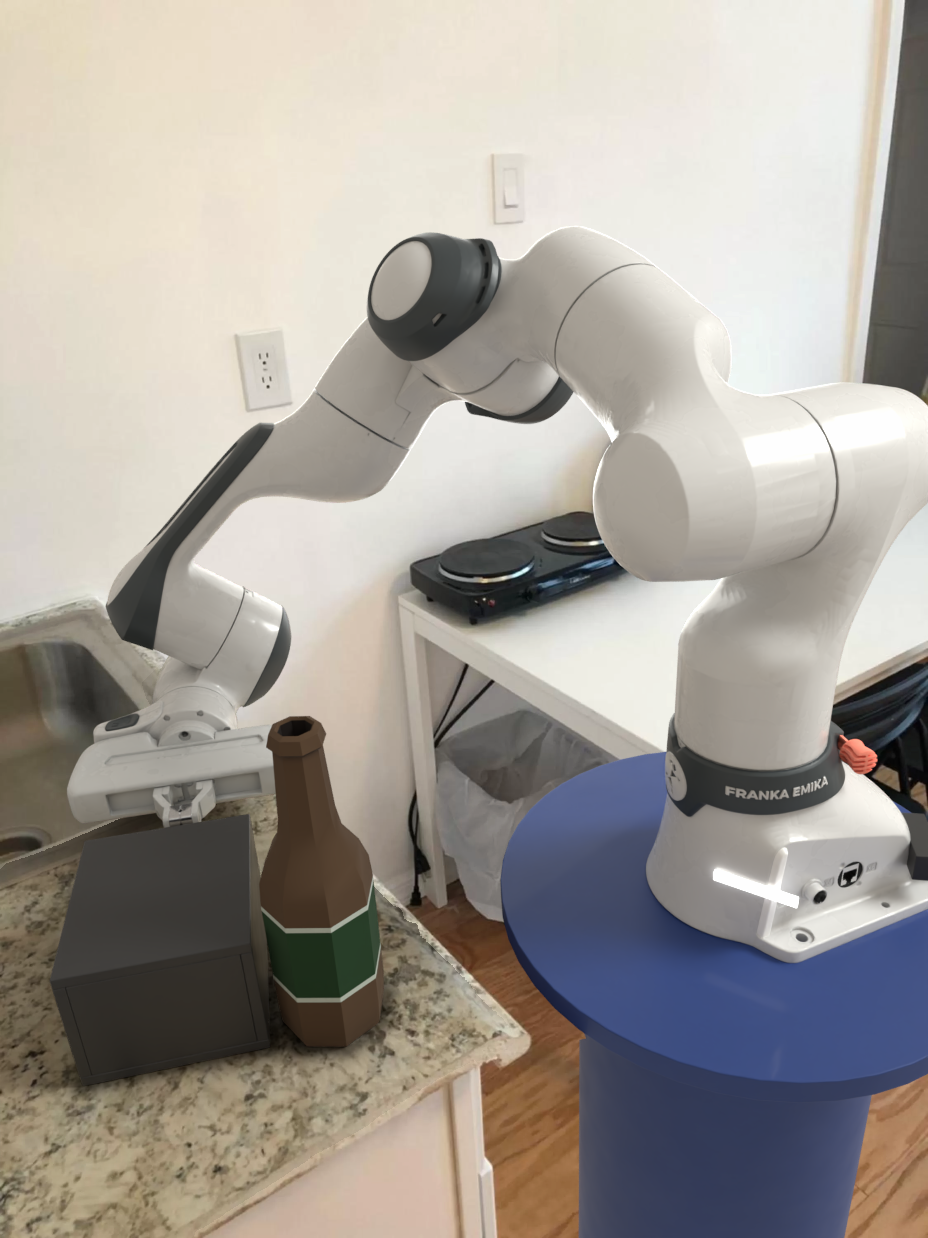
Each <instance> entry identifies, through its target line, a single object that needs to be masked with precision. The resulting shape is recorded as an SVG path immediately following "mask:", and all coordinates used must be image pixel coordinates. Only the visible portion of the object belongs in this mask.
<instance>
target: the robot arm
mask: <svg viewBox="0 0 928 1238" xmlns="http://www.w3.org/2000/svg"><path fill="white" fill-rule="evenodd" d="M367 292H368V293H367V299H366V317H365V318H364V319H363V320H362V322H360V324H359V325H358V326H357V327H356V328H355V329H354V330H353V332H352V333H351V334H350V336H349V337H348V338H347V339H346V340H345V342H344V343H343V344H342V345H341V347H340V348H339V350H338V351H337V352H336V354H335V355H334V356H333V358H332V360H331V361H330V362H329V363H328V365H327V366H326V368H325V369H324V372H323V373H322V374H321V376H320V377H319V378H318V379H319V380H318V381H317V382H316V384H315V386H314V388H313V389H312V390H311V393H310V394H309V396H308V397H307V398H306V400H304V402H303V403H302V404H301V405H300V406H299V407H298V408H297V409H296V410H294V411H293V412H292V413H290V414H289V415H287V416H286V417H284V418H282V419H281V420H278V421H276V422H258V423H256V424H255V425H253V426H252V427H250V428H249V429H248V430H246V432H244V433H243V434H242V435H241V436H240V437H238V439H237V440H236V441H235V442H234V443H233V444H232V445H231V446H230V447H229V449H228V450H226V452H225V453H224V454H223V455H222V457H221V458H219V460H218V461H217V462H216V463H215V464H214V466H213V467H212V468H211V469H210V470H209V471H208V473H206V475H205V476H204V477H203V479H202V480H201V481H200V482H199V483H198V484H197V486H195V488H194V489H193V490H192V491H191V493H190V494H189V495H188V496H187V498H186V499H185V500H184V501H183V503H181V505H180V506H178V508H177V510H176V511H175V512H174V513H173V514H172V515H171V517H170V518H169V519H168V520H167V521H166V522H165V524H164V525H163V526H162V528H161V529H160V530H159V531H158V532H157V533H156V535H155V536H153V538H152V539H151V540H150V541H149V542H148V543H147V544H146V545H145V546H144V547H143V549H141V550H140V551H139V552H138V553H137V554H135V555H134V556H133V557H132V558H131V559H130V560H129V561H128V562H126V564H125V565H124V566H123V567H122V568H121V570H120V571H119V572H118V573H117V575H116V577H115V578H114V580H113V582H112V584H111V586H110V589H109V592H108V594H107V600H106V603H105V610H106V613H107V616H108V618H109V621H110V622H111V624H112V626H113V628H114V630H115V632H116V633H117V635H118V637H119V638H120V640H121V641H124V642H126V643H129V644H133V645H136V646H139V647H141V648H144V649H147V650H150V651H157V652H159V653H161V654H163V655H166V656H167V657H166V659H165V660H164V662H163V664H162V667H161V669H160V671H159V673H158V676H157V678H156V681H155V684H154V688H153V693H152V697H151V704H149V705H148V706H146V707H143V708H142V709H139V710H137V711H135V712H132V713H130V714H126V715H124V716H120V717H118V718H115V719H110V720H107V721H104V722H101V723H99V724H97V725H96V726H95V727H94V729H93V732H92V737H93V743H92V744H91V745H90V746H88V747H87V748H85V749H84V750H83V752H82V753H81V755H80V756H79V758H78V760H77V761H76V763H75V766H74V768H73V770H72V772H71V774H70V778H69V780H68V784H67V787H66V796H67V800H68V805H69V808H70V811H71V814H72V817H73V819H75V820H76V821H77V822H78V823H80V824H82V825H88V824H92V823H100V822H106V821H113V820H119V819H125V818H131V817H132V818H133V817H138V816H145V815H152V814H156V816H157V817H158V818H159V819H160V820H161V821H162V826H163V828H166V827H173V826H179V825H185V824H191V823H197V822H202V819H204V818H205V817H206V816H207V815H208V814H209V813H210V812H211V811H212V810H214V809H215V807H216V804H223V803H229V802H235V801H241V800H247V799H255V798H261V797H267V796H274V795H275V796H276V792H275V780H274V768H273V756H272V751H270V750H269V749H268V748H266V745H267V738H268V734H269V731H270V729H271V727H272V725H273V724H274V723H272V724H261V725H254V726H246V727H240V728H238V727H239V726H238V725H239V722H238V715H237V713H238V711H239V709H240V708H241V707H242V708H245V707H248V706H249V707H250V705H253V704H254V703H255V702H257V701H258V700H260V699H262V698H264V697H265V696H266V694H267V693H268V692H269V691H270V690H271V689H272V688H273V687H274V685H275V684H276V682H277V681H278V679H279V678H280V677H281V674H282V673H283V670H284V668H285V666H286V663H287V660H288V658H289V656H290V655H289V654H290V650H291V646H292V630H291V623H290V619H289V615H288V613H287V611H286V609H285V607H284V606H283V605H282V604H280V603H278V602H276V601H274V600H272V599H270V598H269V597H266V596H264V595H262V594H260V593H258V592H256V591H254V590H252V589H250V588H248V587H246V586H242V585H240V584H237V583H235V582H233V580H230V579H227V578H226V577H224V576H221V575H219V574H217V573H215V572H214V571H212V570H209V569H207V568H206V567H203V566H201V565H200V564H198V563H197V562H196V560H195V558H196V557H197V556H198V554H199V553H200V552H201V551H202V549H203V548H204V547H205V546H206V545H207V544H208V543H209V541H210V540H211V539H212V538H213V536H214V535H215V534H216V533H217V532H218V531H219V530H220V529H221V527H222V526H223V525H224V524H225V522H226V521H227V520H228V519H229V517H231V515H233V513H234V512H235V511H236V510H237V509H238V508H239V507H240V506H242V505H243V504H246V503H247V502H249V501H251V500H252V501H253V500H255V499H259V498H267V497H268V498H269V497H279V498H281V497H282V498H291V499H292V498H293V499H299V500H306V501H310V502H311V501H312V502H319V503H327V504H344V503H345V504H346V503H353V502H359V501H361V500H365V499H368V498H370V497H373V496H374V495H376V494H378V493H379V492H381V491H382V490H384V488H385V487H386V486H388V484H389V483H390V482H391V480H393V478H394V477H395V476H396V474H397V473H398V472H399V470H400V468H401V467H402V465H404V463H405V461H406V459H407V458H408V456H409V454H410V453H411V451H412V449H413V448H414V446H415V444H416V443H417V441H418V440H419V438H420V436H421V434H422V432H423V430H424V429H425V427H426V425H427V423H428V422H429V420H430V419H431V417H432V416H433V414H434V413H435V412H436V411H437V410H438V409H439V408H440V407H443V405H445V404H448V403H451V402H464V405H465V408H466V411H467V412H468V413H469V414H471V415H474V416H479V417H485V418H491V419H494V420H497V421H502V422H507V423H512V424H518V425H534V424H539V423H542V422H544V421H546V420H548V419H550V418H551V417H553V416H555V415H556V414H557V413H558V412H560V411H561V410H562V408H563V407H565V405H566V404H567V403H568V402H569V400H570V399H571V397H572V396H573V394H575V395H576V397H578V398H579V400H580V401H581V402H582V404H584V405H585V407H586V408H587V409H588V410H589V412H591V413H592V415H593V416H594V417H595V418H596V419H597V420H598V422H599V423H600V424H601V425H602V428H603V429H605V431H606V433H607V435H608V437H609V439H610V442H611V443H610V444H609V446H607V448H606V450H605V451H604V453H603V456H602V458H601V459H600V462H599V464H598V466H597V470H596V474H595V478H594V480H593V489H592V506H593V507H592V510H593V517H594V521H595V525H596V528H597V531H598V534H599V536H600V538H601V540H602V542H603V544H604V547H606V549H607V551H608V552H609V554H610V555H611V556H612V558H613V559H614V560H615V561H616V562H617V563H618V564H619V566H621V567H622V568H623V569H624V570H625V571H627V573H629V574H630V575H632V576H633V577H635V578H637V579H639V580H642V581H645V582H650V583H674V582H675V583H679V582H680V583H682V582H683V583H685V582H686V583H687V582H701V581H702V582H703V581H704V582H705V581H717V580H719V581H718V582H717V584H716V585H715V586H714V588H713V589H712V591H711V592H710V593H709V594H708V595H707V596H706V597H705V598H704V599H702V601H701V602H700V603H699V604H698V605H696V607H695V608H694V609H693V610H692V612H691V613H690V614H689V616H688V617H687V619H686V621H685V623H684V625H683V627H682V629H681V632H680V635H679V637H678V644H677V646H678V647H677V660H676V661H677V662H676V663H677V665H676V677H675V678H676V681H675V699H674V712H673V714H672V715H671V717H670V718H669V719H670V720H669V721H668V729H667V741H666V750H665V752H666V758H665V779H666V790H667V797H666V803H665V807H664V812H663V817H662V821H661V824H660V828H659V832H658V835H657V838H656V841H655V843H654V846H653V848H652V850H651V852H650V854H649V857H648V859H647V863H646V877H647V881H648V884H649V886H650V889H651V891H652V892H653V894H654V896H655V897H656V898H657V900H658V901H659V902H660V903H661V904H662V906H663V907H665V908H666V909H667V910H668V911H669V912H670V913H671V914H673V915H674V916H675V917H676V918H678V919H679V920H681V921H683V922H684V923H686V924H688V925H690V926H691V927H693V928H695V929H698V930H700V931H702V932H705V933H707V934H710V935H713V936H716V937H720V938H724V939H728V940H732V941H737V942H741V943H745V944H748V945H751V946H753V947H755V948H757V949H758V950H760V951H762V952H764V953H766V954H768V955H770V956H772V957H774V958H776V959H778V960H780V961H783V962H787V963H799V962H802V961H804V960H807V959H809V958H812V957H814V956H816V955H819V954H821V953H824V952H826V951H828V950H831V949H833V948H836V947H838V946H840V945H843V944H845V943H848V942H850V941H852V940H855V939H857V938H860V937H862V936H864V935H867V934H869V933H872V932H874V931H876V930H879V929H881V928H884V927H886V926H888V925H891V924H893V923H896V922H898V921H900V920H903V919H905V918H908V917H910V916H912V915H915V914H917V913H920V912H922V911H924V910H927V909H928V820H927V817H926V815H925V813H915V812H911V813H903V812H900V810H899V809H898V808H897V806H896V805H895V804H894V802H895V801H893V800H892V799H891V798H890V796H888V795H887V794H886V793H885V791H884V790H882V789H881V788H880V787H879V786H878V785H877V784H876V783H875V782H874V781H872V780H871V779H869V778H868V777H867V776H866V775H865V774H868V773H870V772H872V771H873V768H875V767H876V766H877V763H878V755H877V754H876V752H875V751H874V750H872V749H871V748H869V747H867V746H865V744H864V742H863V740H860V739H858V738H852V739H848V738H846V737H845V736H844V734H845V731H844V730H843V729H842V728H840V726H838V724H836V723H835V722H834V721H832V714H833V708H834V707H833V706H834V701H835V695H836V687H837V683H838V677H839V671H840V666H841V660H842V657H843V652H844V648H845V645H846V643H847V639H848V636H849V632H850V630H851V628H852V626H853V623H854V621H855V618H856V616H857V613H858V611H859V610H860V607H861V605H862V602H863V601H864V598H865V596H866V594H867V592H868V591H869V588H870V587H871V585H872V582H873V581H874V578H875V576H876V574H877V572H878V571H879V568H880V566H881V565H882V563H883V561H884V560H885V558H886V556H887V554H888V552H889V550H890V549H891V547H892V545H893V544H894V543H895V541H896V540H897V538H898V537H899V535H900V534H901V532H902V531H903V530H904V529H905V528H906V526H907V525H908V524H909V523H910V521H912V519H913V518H915V516H916V515H917V514H918V513H919V512H920V511H921V510H922V509H924V507H925V506H927V504H928V404H927V403H925V401H924V400H923V399H921V398H920V397H919V396H917V395H916V394H914V393H913V392H910V391H909V390H906V389H903V388H900V387H895V386H890V385H889V386H888V385H881V384H876V383H875V384H874V383H862V382H849V381H842V382H839V381H838V382H832V383H827V384H820V385H815V386H809V387H804V388H798V389H793V390H787V391H782V392H781V391H780V392H776V393H768V394H767V393H766V394H765V393H764V394H756V393H753V392H752V393H751V392H747V391H744V390H740V389H738V388H735V387H734V386H731V385H730V384H729V380H730V377H731V373H732V365H733V363H732V362H733V361H732V355H733V353H732V351H733V350H732V341H731V337H730V333H729V331H728V328H727V327H726V325H725V323H724V322H723V320H722V319H721V318H720V317H719V316H718V315H716V314H715V313H714V312H712V310H710V309H709V308H708V307H707V306H705V305H704V304H703V303H702V302H701V301H699V300H698V299H697V298H696V297H695V296H693V294H691V292H689V291H688V290H686V289H685V288H684V287H683V286H682V285H680V284H679V283H678V282H677V281H676V280H675V279H673V278H672V277H671V276H670V275H668V274H667V273H666V272H665V271H664V270H662V269H661V268H660V267H659V266H657V265H656V264H655V263H653V262H652V261H651V260H650V259H649V258H647V257H645V256H644V255H642V254H641V253H640V252H637V251H636V250H635V249H633V248H631V247H630V246H628V245H627V244H624V243H623V242H621V241H619V240H617V239H615V238H613V237H611V236H609V235H607V234H605V233H602V232H600V231H597V230H595V229H592V228H589V227H586V226H580V225H571V226H570V225H569V226H563V227H559V228H557V229H554V230H552V231H550V232H548V233H546V234H545V235H543V236H542V237H540V238H539V239H538V240H536V241H535V242H534V243H533V245H532V246H530V247H529V248H528V250H527V251H526V252H525V253H524V254H523V255H522V256H520V257H518V258H515V259H508V258H503V257H501V256H498V253H497V249H496V246H495V244H494V243H493V241H492V240H490V239H487V238H481V237H480V238H479V237H477V238H476V237H475V238H461V237H459V236H458V237H457V236H453V235H449V234H445V233H441V232H431V231H429V232H420V233H418V234H414V235H412V236H410V237H407V238H405V239H403V240H401V241H399V242H398V243H396V244H395V245H394V246H393V247H392V248H391V249H389V251H388V252H387V253H386V254H385V255H384V256H383V257H382V259H381V260H380V262H379V264H378V265H377V266H376V269H375V271H374V273H373V275H372V277H371V280H370V284H369V286H368V291H367ZM800 941H802V942H800Z"/></svg>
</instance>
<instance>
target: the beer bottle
mask: <svg viewBox="0 0 928 1238" xmlns="http://www.w3.org/2000/svg"><path fill="white" fill-rule="evenodd" d="M272 724H273V725H272V727H271V729H270V731H269V734H268V738H267V745H266V748H268V749H269V750H270V751H272V756H273V768H274V780H275V792H276V794H275V803H276V804H275V805H276V814H277V825H276V826H277V827H276V833H275V835H274V836H273V838H272V840H271V843H270V845H269V848H268V851H267V854H266V857H265V860H264V862H263V866H262V870H261V873H260V875H261V878H260V882H259V890H260V903H261V910H262V916H263V922H264V927H265V933H266V939H267V951H268V955H269V961H270V966H271V971H272V972H271V973H272V978H273V984H274V989H275V994H276V995H275V996H276V1000H277V1005H278V1009H279V1012H280V1017H281V1020H282V1022H283V1023H284V1025H286V1026H287V1027H288V1028H289V1030H291V1032H293V1033H294V1034H295V1036H297V1038H298V1039H300V1041H301V1042H302V1043H303V1044H304V1045H305V1046H306V1047H308V1048H309V1047H310V1048H311V1047H316V1048H319V1047H322V1048H324V1047H325V1048H327V1047H328V1048H329V1047H331V1048H332V1047H333V1048H334V1047H335V1048H336V1047H340V1048H342V1047H346V1048H347V1047H348V1046H350V1045H352V1043H354V1042H355V1041H356V1040H358V1039H359V1038H360V1037H362V1036H364V1035H365V1034H366V1033H367V1032H368V1031H370V1030H371V1029H373V1028H375V1026H377V1025H378V1024H379V1022H380V1019H381V1013H382V1007H383V999H384V993H385V973H384V972H385V971H384V962H383V954H382V953H383V952H382V943H381V935H380V925H379V916H378V909H377V908H378V907H377V899H376V890H375V881H374V873H373V868H372V864H371V859H370V854H369V853H368V851H367V849H366V848H365V846H364V845H363V843H362V841H361V839H360V838H359V837H358V836H357V835H356V834H354V833H353V831H351V830H350V829H349V828H348V827H346V825H344V824H343V822H342V819H341V817H340V815H339V812H338V808H337V806H336V803H335V797H334V792H333V788H332V783H331V782H332V781H331V777H330V773H329V768H328V763H327V758H326V754H325V748H324V742H325V740H326V737H327V732H326V730H325V728H324V726H323V724H322V722H320V721H319V720H317V719H316V718H314V717H312V716H311V715H291V716H288V717H287V716H286V717H285V718H283V719H281V720H278V721H276V722H274V723H272Z"/></svg>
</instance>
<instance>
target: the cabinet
mask: <svg viewBox="0 0 928 1238" xmlns="http://www.w3.org/2000/svg"><path fill="white" fill-rule="evenodd" d="M260 878H261V871H260V864H259V859H258V853H257V847H256V843H255V836H254V831H253V825H252V819H251V814H250V813H247V814H239V815H234V816H228V817H221V818H216V819H211V820H210V819H209V820H204V821H201V822H197V823H191V824H185V825H179V826H173V827H166V828H164V827H161V828H155V829H149V830H143V831H137V832H132V833H123V834H118V835H112V836H107V837H100V838H95V839H87V840H84V841H83V845H82V850H81V854H80V859H79V862H78V865H77V870H76V873H75V878H74V882H73V886H72V890H71V893H70V897H69V902H68V906H67V909H66V914H65V918H64V922H63V925H62V929H61V933H60V937H59V940H58V946H57V950H56V953H55V954H56V955H55V957H54V961H53V966H52V970H51V973H50V978H49V984H50V988H51V990H52V993H53V998H54V1000H55V1003H56V1007H57V1010H58V1013H59V1016H60V1019H61V1023H62V1026H63V1029H64V1032H65V1036H66V1038H67V1039H66V1040H67V1042H68V1045H69V1047H70V1052H71V1054H72V1057H73V1061H74V1064H75V1067H76V1070H77V1074H78V1077H79V1079H80V1082H81V1086H82V1087H86V1086H90V1085H96V1084H100V1083H105V1082H110V1081H114V1080H119V1079H125V1078H129V1077H134V1076H138V1075H143V1074H148V1073H152V1072H158V1071H163V1070H168V1069H173V1068H177V1067H182V1066H186V1065H187V1066H188V1065H192V1064H196V1063H201V1062H205V1061H206V1062H207V1061H211V1060H215V1059H220V1058H226V1057H229V1056H236V1055H241V1054H245V1053H248V1052H249V1053H250V1052H253V1051H259V1050H264V1049H268V1048H270V1047H271V1023H270V992H269V960H268V959H269V958H268V955H269V953H268V944H267V939H266V933H265V927H264V922H263V916H262V910H261V903H260V890H259V882H260Z"/></svg>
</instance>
